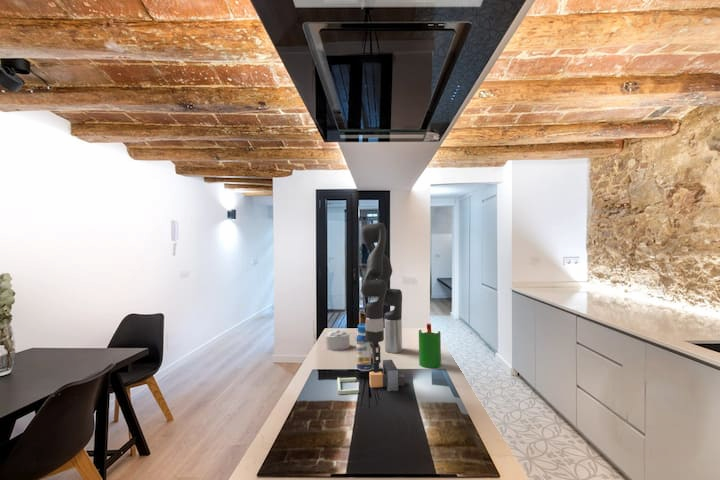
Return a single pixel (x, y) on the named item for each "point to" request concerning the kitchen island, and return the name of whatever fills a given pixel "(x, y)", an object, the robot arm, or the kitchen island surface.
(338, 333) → the lumpy-topped squat cylinder
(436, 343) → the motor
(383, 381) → the plug
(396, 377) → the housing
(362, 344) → the beverage bottle
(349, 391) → the light grey u-shaped piece
